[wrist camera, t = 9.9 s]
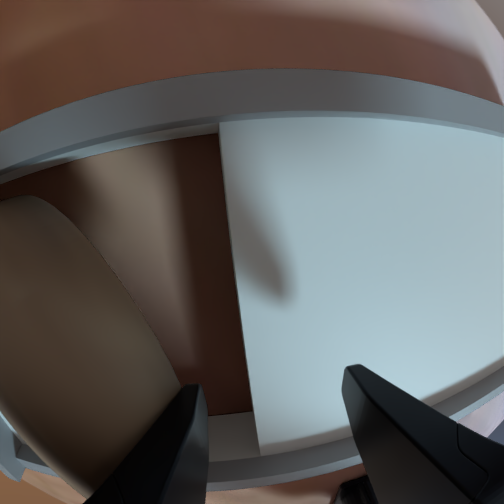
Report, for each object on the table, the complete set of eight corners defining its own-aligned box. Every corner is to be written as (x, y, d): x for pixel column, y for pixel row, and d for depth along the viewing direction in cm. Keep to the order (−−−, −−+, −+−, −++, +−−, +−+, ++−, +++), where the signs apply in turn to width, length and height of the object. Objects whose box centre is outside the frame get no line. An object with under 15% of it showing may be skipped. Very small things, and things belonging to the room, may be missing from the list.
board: (481, 350, 15) (525, 391, 10) (35, 419, 13) (8, 477, 8) (511, 129, 11) (582, 137, 6) (-55, 188, 8) (-126, 212, 3)
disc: (215, 487, 9) (173, 552, 6) (48, 394, 12) (10, 425, 9) (144, 179, 5) (-47, 239, 2) (-20, 203, 9) (-79, 226, 6)
